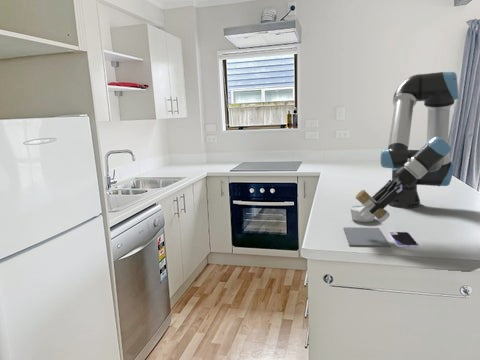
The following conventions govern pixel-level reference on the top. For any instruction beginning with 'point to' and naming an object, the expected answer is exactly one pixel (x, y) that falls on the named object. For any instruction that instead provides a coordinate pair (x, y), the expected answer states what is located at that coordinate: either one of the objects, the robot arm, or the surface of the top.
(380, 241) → the charcoal mat
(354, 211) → the ramekin
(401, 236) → the mobile phone
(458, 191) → the top surface
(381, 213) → the sprinkles bottle
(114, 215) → the top surface
